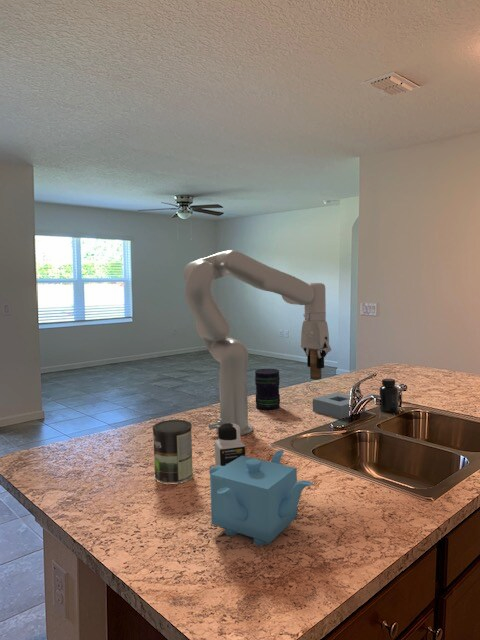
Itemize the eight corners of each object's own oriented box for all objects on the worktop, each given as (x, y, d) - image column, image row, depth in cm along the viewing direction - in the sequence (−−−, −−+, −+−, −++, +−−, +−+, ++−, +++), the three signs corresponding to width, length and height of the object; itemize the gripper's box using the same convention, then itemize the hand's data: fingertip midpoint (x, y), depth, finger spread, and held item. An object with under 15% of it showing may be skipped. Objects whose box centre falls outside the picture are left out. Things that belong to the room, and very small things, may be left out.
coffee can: (158, 488, 119) (156, 434, 118) (151, 472, 129) (149, 422, 128) (198, 480, 123) (196, 428, 122) (188, 466, 133) (186, 417, 131)
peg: (316, 380, 169) (315, 347, 168) (308, 378, 172) (307, 346, 171) (323, 378, 171) (323, 345, 170) (315, 376, 175) (315, 344, 173)
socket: (341, 419, 171) (341, 406, 171) (312, 411, 182) (312, 398, 182) (365, 411, 180) (365, 398, 179) (336, 404, 191) (336, 392, 190)
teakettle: (206, 513, 106) (204, 450, 105) (286, 502, 110) (284, 441, 109) (220, 562, 88) (217, 486, 86) (315, 547, 92) (314, 474, 90)
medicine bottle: (220, 473, 127) (219, 430, 126) (214, 463, 134) (213, 422, 133) (246, 470, 129) (244, 427, 128) (239, 460, 136) (238, 420, 135)
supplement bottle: (395, 407, 184) (396, 377, 183) (400, 413, 177) (400, 381, 176) (377, 407, 185) (378, 377, 183) (381, 413, 178) (381, 381, 177)
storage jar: (284, 409, 186) (283, 372, 185) (261, 412, 183) (261, 374, 181) (273, 403, 196) (272, 367, 194) (251, 406, 192) (250, 370, 191)
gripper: (291, 316, 174) (292, 365, 176) (325, 319, 161) (326, 372, 163) (305, 315, 179) (306, 363, 180) (340, 317, 165) (340, 369, 167)
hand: (315, 366), depth 171 cm, fingers closed on peg, 4 cm apart
